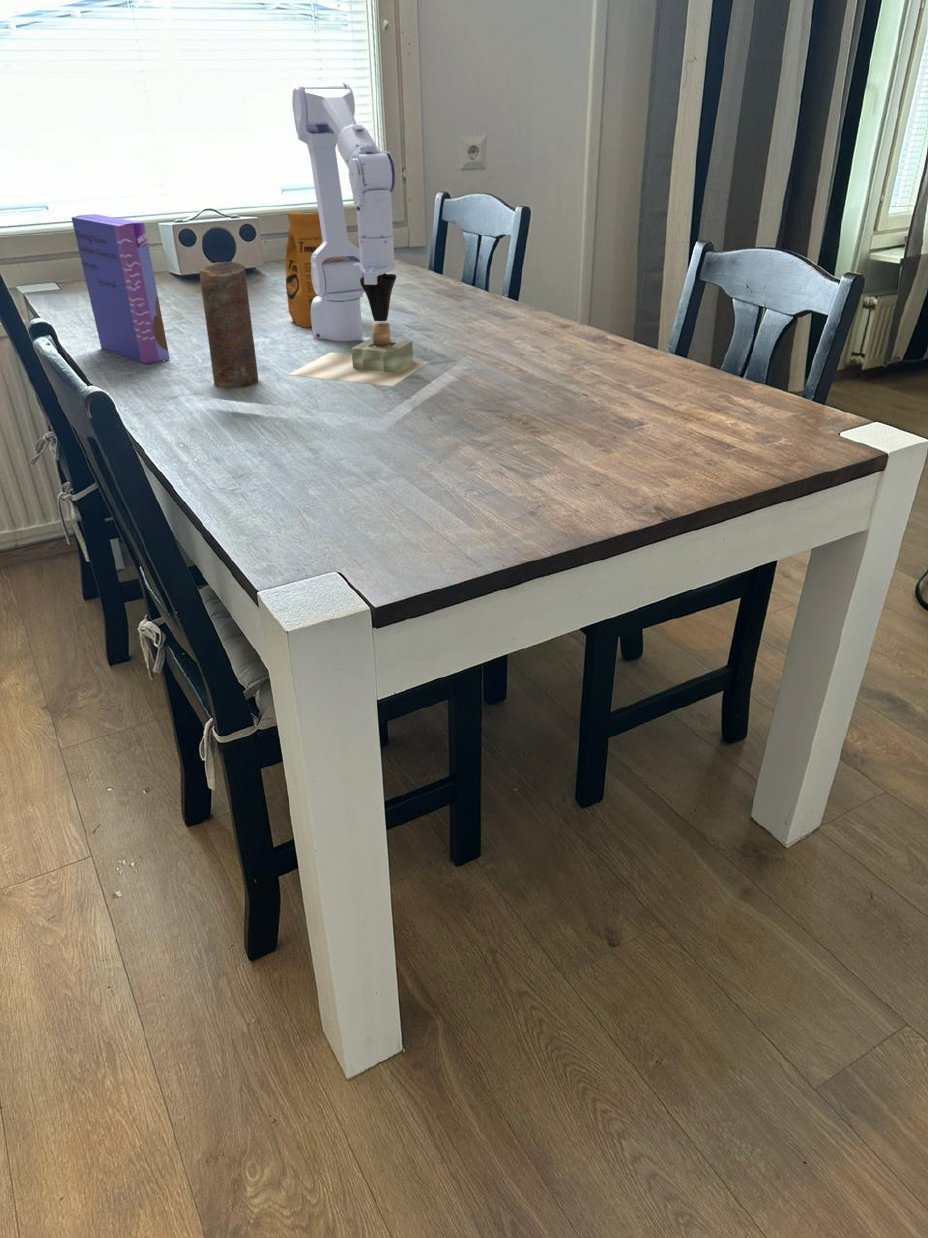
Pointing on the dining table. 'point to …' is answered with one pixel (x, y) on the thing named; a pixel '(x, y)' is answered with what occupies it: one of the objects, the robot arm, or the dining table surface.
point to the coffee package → (302, 264)
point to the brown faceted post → (229, 325)
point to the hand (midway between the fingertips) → (380, 320)
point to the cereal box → (121, 287)
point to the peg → (381, 334)
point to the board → (352, 375)
